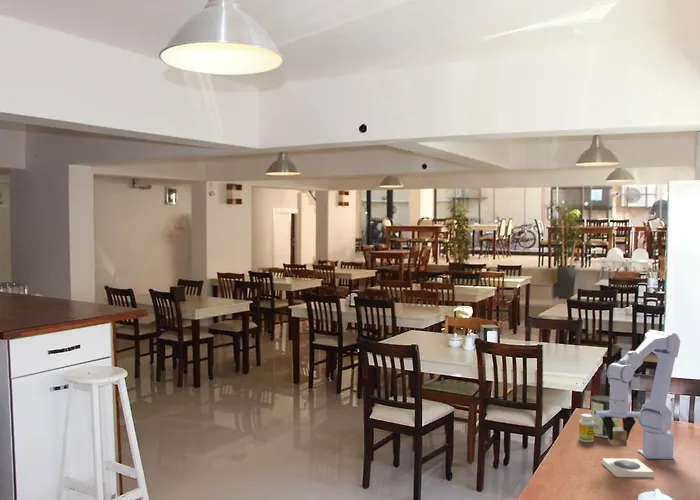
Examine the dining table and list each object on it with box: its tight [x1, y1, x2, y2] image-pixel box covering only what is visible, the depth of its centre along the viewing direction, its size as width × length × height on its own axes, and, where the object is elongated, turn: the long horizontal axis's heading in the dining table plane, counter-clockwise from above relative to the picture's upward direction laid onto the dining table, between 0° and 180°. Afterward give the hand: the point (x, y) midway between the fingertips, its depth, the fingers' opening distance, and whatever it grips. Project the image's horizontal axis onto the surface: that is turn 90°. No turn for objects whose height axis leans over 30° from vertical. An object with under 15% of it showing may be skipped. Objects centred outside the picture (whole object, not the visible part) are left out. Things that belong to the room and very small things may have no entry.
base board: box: [601, 457, 655, 478], centre depth 216 cm, size 12×12×2 cm
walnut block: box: [607, 426, 628, 447], centre depth 220 cm, size 4×4×5 cm
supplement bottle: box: [578, 413, 595, 443], centre depth 246 cm, size 5×5×10 cm
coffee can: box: [590, 394, 619, 439], centre depth 254 cm, size 10×10×14 cm
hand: (617, 439), depth 220 cm, fingers closed on walnut block, 4 cm apart
